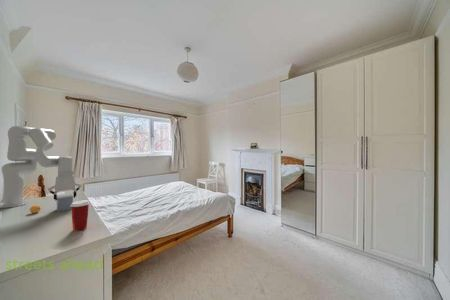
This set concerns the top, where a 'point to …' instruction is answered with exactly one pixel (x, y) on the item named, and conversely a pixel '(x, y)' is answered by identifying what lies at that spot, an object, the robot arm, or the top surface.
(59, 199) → the pale blue-grey cube
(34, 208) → the ball
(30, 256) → the top surface
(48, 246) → the top surface
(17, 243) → the top surface
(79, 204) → the paper cup
